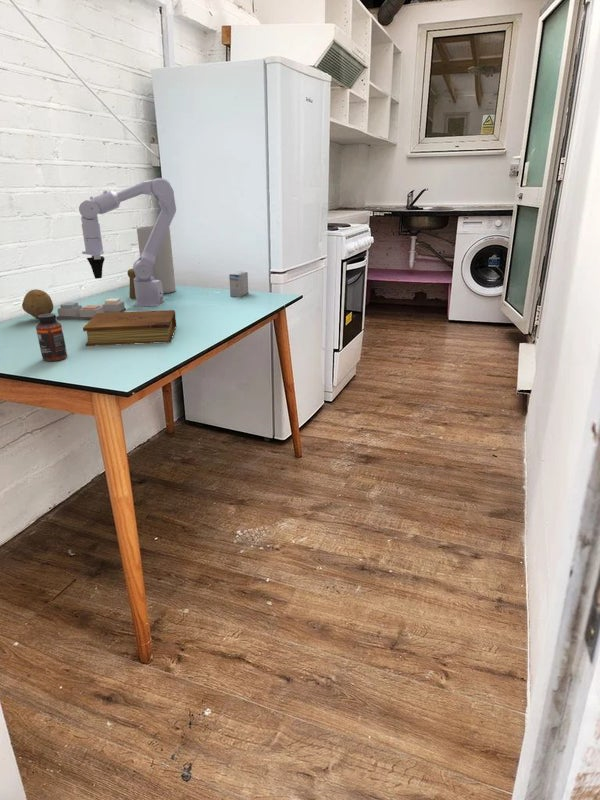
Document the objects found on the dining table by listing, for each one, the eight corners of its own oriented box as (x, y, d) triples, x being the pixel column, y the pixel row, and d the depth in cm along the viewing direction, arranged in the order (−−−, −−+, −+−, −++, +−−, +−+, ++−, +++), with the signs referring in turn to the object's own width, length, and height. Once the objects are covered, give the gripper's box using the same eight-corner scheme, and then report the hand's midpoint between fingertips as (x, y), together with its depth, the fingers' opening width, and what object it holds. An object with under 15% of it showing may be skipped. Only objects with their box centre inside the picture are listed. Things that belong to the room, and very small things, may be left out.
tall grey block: (172, 294, 214) (165, 228, 204) (140, 294, 214) (132, 229, 204) (178, 288, 225) (172, 226, 216) (148, 289, 225) (141, 226, 216)
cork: (143, 299, 206) (139, 269, 202) (127, 299, 206) (123, 269, 202) (147, 295, 212) (144, 267, 207) (132, 296, 212) (128, 267, 207)
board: (126, 310, 188) (124, 301, 187) (109, 319, 175) (108, 310, 174) (76, 309, 190) (75, 300, 188) (56, 319, 177) (55, 309, 176)
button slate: (78, 309, 181) (77, 302, 180) (73, 312, 177) (71, 305, 177) (67, 309, 181) (66, 302, 181) (61, 312, 178) (60, 305, 177)
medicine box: (238, 293, 215) (237, 271, 212) (248, 293, 214) (247, 271, 211) (230, 296, 208) (228, 274, 205) (240, 297, 207) (239, 274, 204)
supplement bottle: (71, 355, 140) (64, 312, 136) (61, 362, 134) (53, 317, 130) (49, 355, 140) (40, 312, 136) (38, 362, 135) (28, 317, 130)
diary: (176, 327, 168) (174, 309, 165) (171, 344, 150) (169, 324, 148) (100, 330, 165) (97, 311, 163) (85, 347, 148) (82, 327, 146)
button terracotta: (100, 312, 180) (99, 305, 179) (95, 315, 176) (94, 308, 175) (89, 312, 180) (88, 305, 179) (83, 315, 176) (82, 307, 176)
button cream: (121, 305, 187) (120, 298, 186) (116, 307, 183) (115, 300, 182) (110, 305, 187) (109, 298, 186) (105, 307, 183) (104, 300, 182)
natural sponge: (19, 323, 172) (13, 292, 168) (33, 316, 180) (27, 286, 177) (47, 323, 172) (41, 291, 168) (60, 316, 180) (54, 286, 176)
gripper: (78, 236, 188) (84, 275, 193) (81, 240, 176) (88, 282, 181) (99, 235, 191) (104, 274, 196) (104, 239, 179) (110, 280, 184)
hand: (98, 278), depth 189 cm, fingers closed
